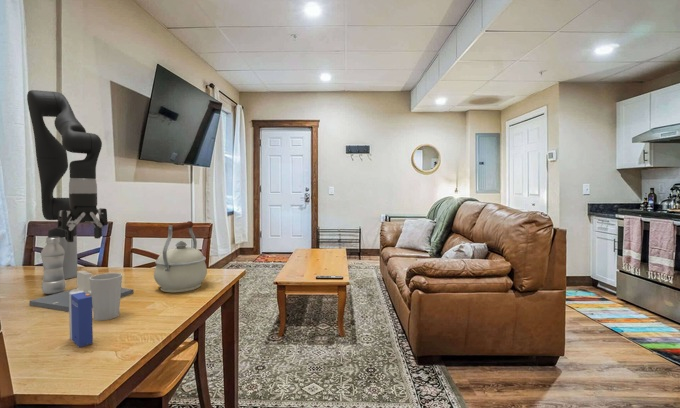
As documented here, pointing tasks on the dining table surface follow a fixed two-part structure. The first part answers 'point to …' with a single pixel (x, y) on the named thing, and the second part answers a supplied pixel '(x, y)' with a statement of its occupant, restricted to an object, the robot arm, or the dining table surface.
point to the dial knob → (83, 282)
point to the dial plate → (64, 300)
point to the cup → (105, 295)
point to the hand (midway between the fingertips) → (84, 240)
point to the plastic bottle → (53, 266)
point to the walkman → (80, 318)
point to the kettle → (180, 264)
